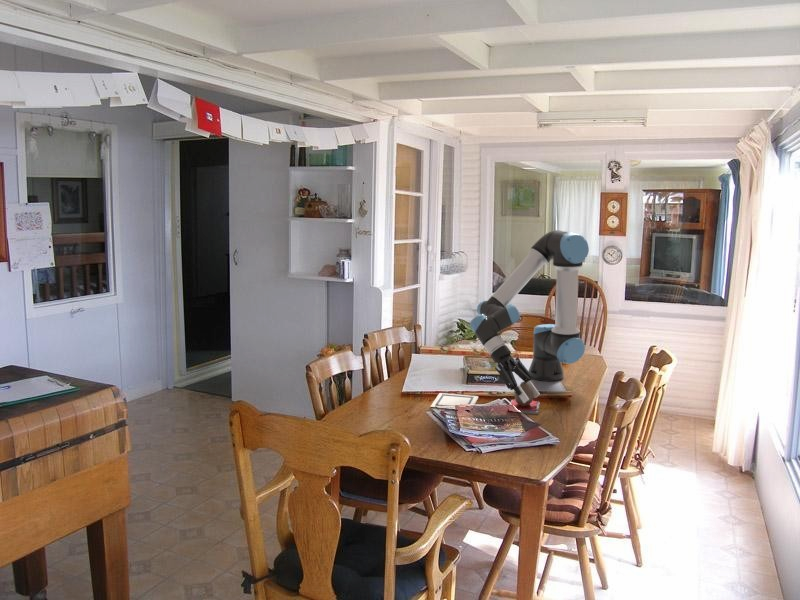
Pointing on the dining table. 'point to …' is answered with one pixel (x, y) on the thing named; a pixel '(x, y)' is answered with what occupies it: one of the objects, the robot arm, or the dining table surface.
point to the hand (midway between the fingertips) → (532, 398)
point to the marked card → (453, 399)
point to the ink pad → (527, 407)
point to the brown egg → (527, 391)
